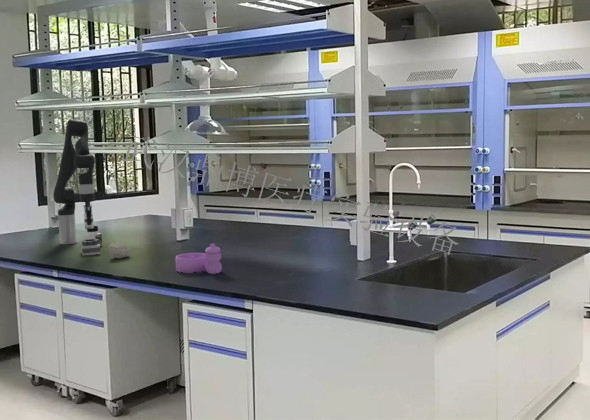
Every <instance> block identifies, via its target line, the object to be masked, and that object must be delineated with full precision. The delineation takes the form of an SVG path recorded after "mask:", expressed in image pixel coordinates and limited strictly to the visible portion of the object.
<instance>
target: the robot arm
mask: <svg viewBox="0 0 590 420" xmlns="http://www.w3.org/2000/svg"><path fill="white" fill-rule="evenodd" d="M64 135H65V137H64V145H63V150H62V154H61V159H60V165H59V171H58V175H57V180H56V183H55V186H54V190H53V195H52V196H53V201H54V202H55V203H56V204H64V205H63V206H62V207H61V208H59V209H58V210H57V217H58V218H57V219H58V220H57V222H58V230H59V231H58V232H59V244H60V245H72V244H73V245H74V244H77V243H78V242H77V228H76V216H75V210H76V194H75V193H76V192H75V190H74V188H73V187H71V186H67V184H68V182H69V180H71V178H72V177H73V175H74V174H75V173H76V171H77V169H87V171H85V172H82V173H79V174H78V185H79V186H78V192H79V193H78V194H79V202H80V203H84V205H83V208H84V214H86V217H87V225H91V224H92V223H91V217H92V215H91V213H93V205H92V204H91V203H92V202H94V201H95V187H94V180H93V179H94V178H93V173H94V168H95V163H96V159H95V157H94V155H92V154H90V148H89V125H88V123H87V122H86V121H83V120H79V119H69V120H67V123H66V127H65V134H64ZM73 137H76V138H77V137H78V140H77V141H76V142H75V144H73V141H72V140H73V139H72V138H73ZM88 214H90V215H88Z"/></svg>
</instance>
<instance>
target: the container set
mask: <svg viewBox="0 0 590 420" xmlns="http://www.w3.org/2000/svg"><path fill="white" fill-rule="evenodd" d="M204 251H205V252H188V253H181V254H177V255H176V256H175V259H174V260H175V271H176V272H177V271H178V272H177V273H181V272H183V273H184V274H194V273H193V272H197V273H203V272H207V273H208V274H209V273H210V275H216V273H217V274H219V273H220V272H221V271H222V269H223V266H222V262H221V261H220V260H221V259H222V254H221V248H220V247H219V246H216V243H210V244H209V247H206V248H205V250H204ZM202 271H203V272H202ZM183 273H182V274H183Z"/></svg>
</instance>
